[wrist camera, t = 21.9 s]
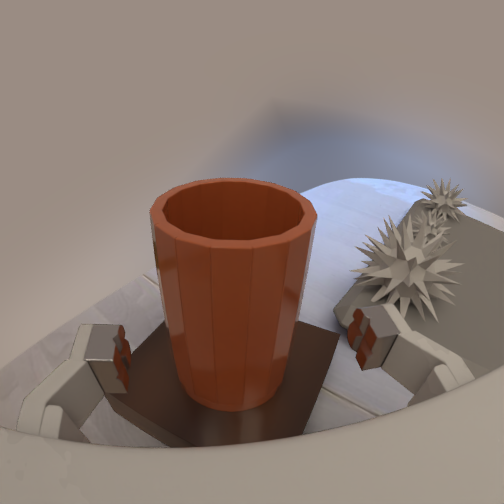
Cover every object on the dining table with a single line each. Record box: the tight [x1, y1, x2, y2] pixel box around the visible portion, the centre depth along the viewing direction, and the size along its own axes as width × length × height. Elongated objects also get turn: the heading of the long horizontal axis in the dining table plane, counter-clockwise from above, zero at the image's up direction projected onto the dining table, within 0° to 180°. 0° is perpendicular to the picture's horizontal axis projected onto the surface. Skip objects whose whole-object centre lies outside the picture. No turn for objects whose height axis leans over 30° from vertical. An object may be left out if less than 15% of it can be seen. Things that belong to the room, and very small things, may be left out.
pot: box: [150, 178, 317, 412], centre depth 15 cm, size 6×6×10 cm
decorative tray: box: [333, 179, 504, 379], centre depth 27 cm, size 35×26×10 cm
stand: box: [104, 320, 340, 448], centre depth 18 cm, size 11×11×3 cm
